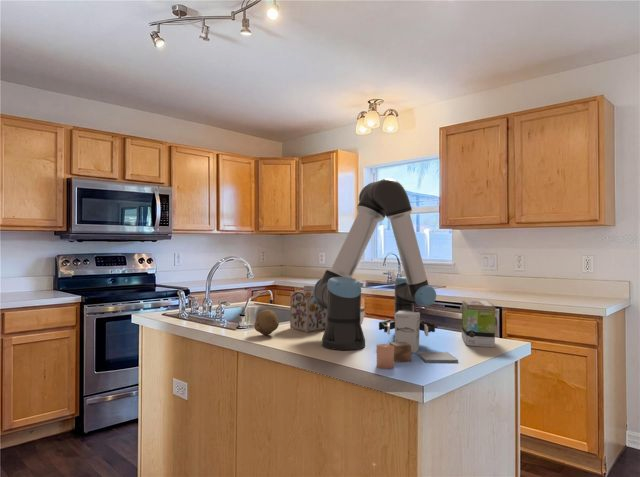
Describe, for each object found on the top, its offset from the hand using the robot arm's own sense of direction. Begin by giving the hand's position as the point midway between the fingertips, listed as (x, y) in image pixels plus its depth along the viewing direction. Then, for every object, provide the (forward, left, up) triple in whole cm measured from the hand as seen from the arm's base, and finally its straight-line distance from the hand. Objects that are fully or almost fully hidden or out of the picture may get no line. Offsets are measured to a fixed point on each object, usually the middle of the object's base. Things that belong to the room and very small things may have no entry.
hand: (407, 331), depth 147 cm
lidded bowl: (-15, +42, -7) cm, 45 cm away
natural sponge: (-48, +26, -7) cm, 55 cm away
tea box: (+30, +17, -7) cm, 35 cm away
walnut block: (-4, -9, -7) cm, 13 cm away
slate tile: (+8, -7, -7) cm, 13 cm away
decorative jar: (-32, +41, -7) cm, 52 cm away
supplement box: (+1, +4, -7) cm, 8 cm away
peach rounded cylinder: (-10, -17, -7) cm, 21 cm away
